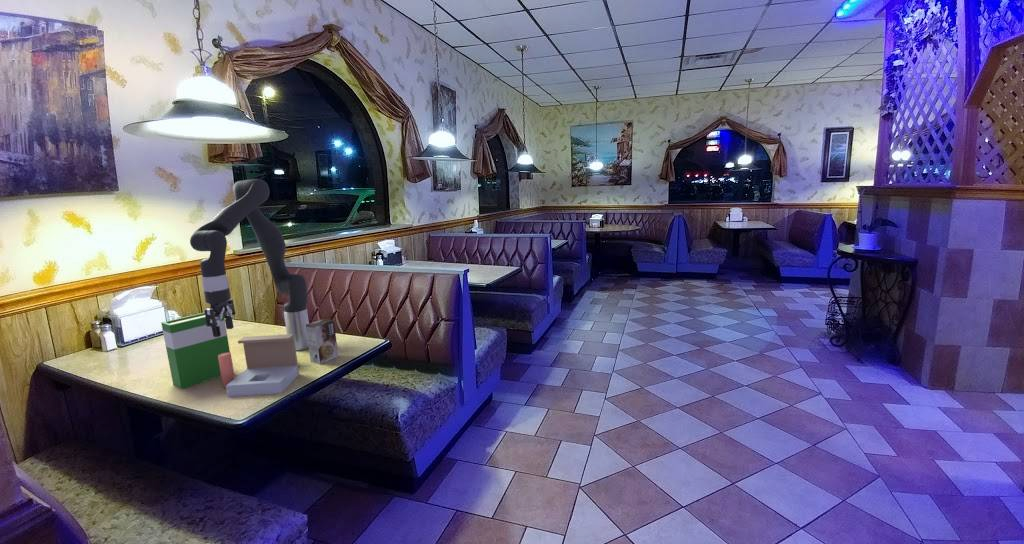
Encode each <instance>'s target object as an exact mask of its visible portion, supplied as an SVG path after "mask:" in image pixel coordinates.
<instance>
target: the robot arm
mask: <svg viewBox="0 0 1024 544" xmlns="http://www.w3.org/2000/svg"><path fill="white" fill-rule="evenodd" d="M270 193H271V192H270V188H269V185H268V183H267V182H266V181H265V180H263V179H259V178H252V179H244V180H238V181H236V182H235V183H234V184H233V194H234V196H235V198H236V201H234V202H233V203H231V204H229V205H228V206H226V207H224V208H222V210H221V211H219V212H218V213H217V214H216V215H215V216H214V217H213V218H212V220H210V221H209V222H207V223H205V224H203V225H202V226H200V227H198V228H197V229H196V230H195V231H194V232H192V234H191V236H190V238H189V244H190V246H191V248H192V249H193V250H195V251H196V252H210V254H209V256H208V257H206V258H204V259H202V260H201V261H200V264H199V266H200V271H201V279H202V281H201V282H202V288H203V294H204V300H205V303H206V304H209V306H210V307H209V308H205V309H204V313H205V318H206V325H207V327H209V326H210V327H212V332H213V336H214V337H219V336H221V332H220V326H219V323H220V320H222V317H224V319H225V325H226V330H232V329H234V322H233V321H234V320H233V318H234V316H235V315H236V309H235V305H234V300H233V299H232V297H231V290H230V285H229V279H228V275H227V271H226V265H225V260H226V258H225V257H226V252H227V246H228V242H227V237H226V236H229V235H230V234H231V233H232V232H233V231H234V230H235V229H236V227H237V226H238V225H239V224H240V222H241V221H243V220H244V219H245V218H246V219H247V220H248V222H249V224H250V226H251V228H252V230H253V233H254V234H255V237H256V240H257V244H259V247H260V249H261V251H262V253H263V256H264V257H265V260H266V263H267V264H268V267H269V270H270V273H271V276H272V280H273V283H274V286H275V288H276V290H277V292H279V293H280V294H282V295H285V296H286V295H287V296H289V302H286V303H285V304H283V316H284V322H285V323H284V325H285V328H286V329H285V331H286V334H294V340H295V348H296V352H297V351H303V350H306V349H309V345H308V338H307V330H306V324H309V323H310V322H309V316H308V315H309V314H308V307H307V305H308V301H309V300H308V299H309V298H308V286H307V281H306V278H305V276H304V275H302V274H300V273H290V272H289V270H288V268H287V266H286V263H285V257H286V256H285V255H286V249H287V248H286V242H285V239H284V236H283V234H282V231H281V230H280V229H279V227H278V226H277V225H276V224H275V223H274V222H272V221H271V220H270V219H269V218H268V217H267V216H265V215H264V213H263V212H262V211H261V210H260V207H259V206H261V205H262V204H264V203H265V202H266V201H267V200H268V199H269V198H270ZM209 319H210V320H211V321H209ZM215 320H217V321H215Z"/></svg>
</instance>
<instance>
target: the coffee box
mask: <svg viewBox="0 0 1024 544" xmlns="http://www.w3.org/2000/svg"><path fill="white" fill-rule="evenodd" d="M335 327H336V326H335V320H334V319H329V318H321V319H318V320H315V321H312V322H309V324H306V330H307V338H308V345H309V348H308V351H309V359H310V362H311V363H313V364H317V365H323V364H324V363H327V362H329V361H331V360H334V359H336V358H338V357H339V351H338V343H337V336H336V328H335Z"/></svg>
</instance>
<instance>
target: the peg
mask: <svg viewBox="0 0 1024 544" xmlns="http://www.w3.org/2000/svg"><path fill="white" fill-rule="evenodd" d="M218 360H219V366H220V372H221V376H220V379H221V383H222V387H223V389H226V385H227V384H229V383H230V382H231V381H232V380H234V379H235V378H236V376H235V371H234V365H233V364H234V363H233V358H232V353H231V352H230V353H222V354H219V355H218Z"/></svg>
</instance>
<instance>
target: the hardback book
mask: <svg viewBox="0 0 1024 544" xmlns="http://www.w3.org/2000/svg"><path fill="white" fill-rule="evenodd" d="M209 321H211V320H210V319H209ZM215 321H217V320H215ZM160 323H161V329H162V335H163V340H164V344H165V345H164V346H165V349H166V355H167V359H168V366H169V369H170V374H171V375H170V376H171V378H172V379H171V380H172V385H173V386H175V387H176V388H178V389H180V390H183V389H186V388H190V387H191V386H195V385H199V384H201V383H204V382H207V381H211V380H213V379H216V378H219V377H221V372H220V366H219V360H218V355H219V354H222V353H231V351H230V350H231V349H230V344H229V339H228V333H227V332H228V331H227V328H226V323H225V318H224V317H222V320H220V323H219V326H220V332H221V336H219V337H214V336H213V332H212V327H210V326H209V327H207V325H206V318H205V312H201V313H196V314H192V315H188V316H184V317H179V318H174V319H171V320H166V321H162V322H160Z"/></svg>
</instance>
